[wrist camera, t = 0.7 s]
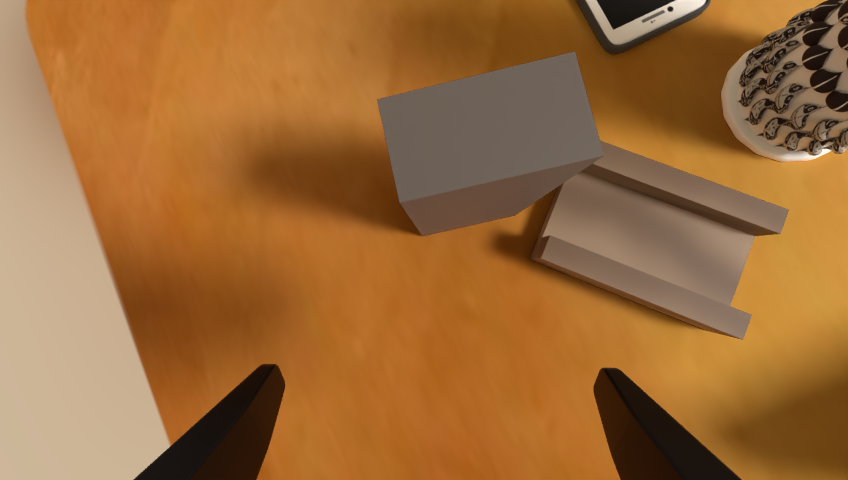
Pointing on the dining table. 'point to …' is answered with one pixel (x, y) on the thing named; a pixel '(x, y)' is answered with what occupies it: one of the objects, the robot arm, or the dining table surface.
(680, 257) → the tray
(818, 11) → the decorative candle
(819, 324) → the dining table surface
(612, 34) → the cell phone
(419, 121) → the grey rectangular box
